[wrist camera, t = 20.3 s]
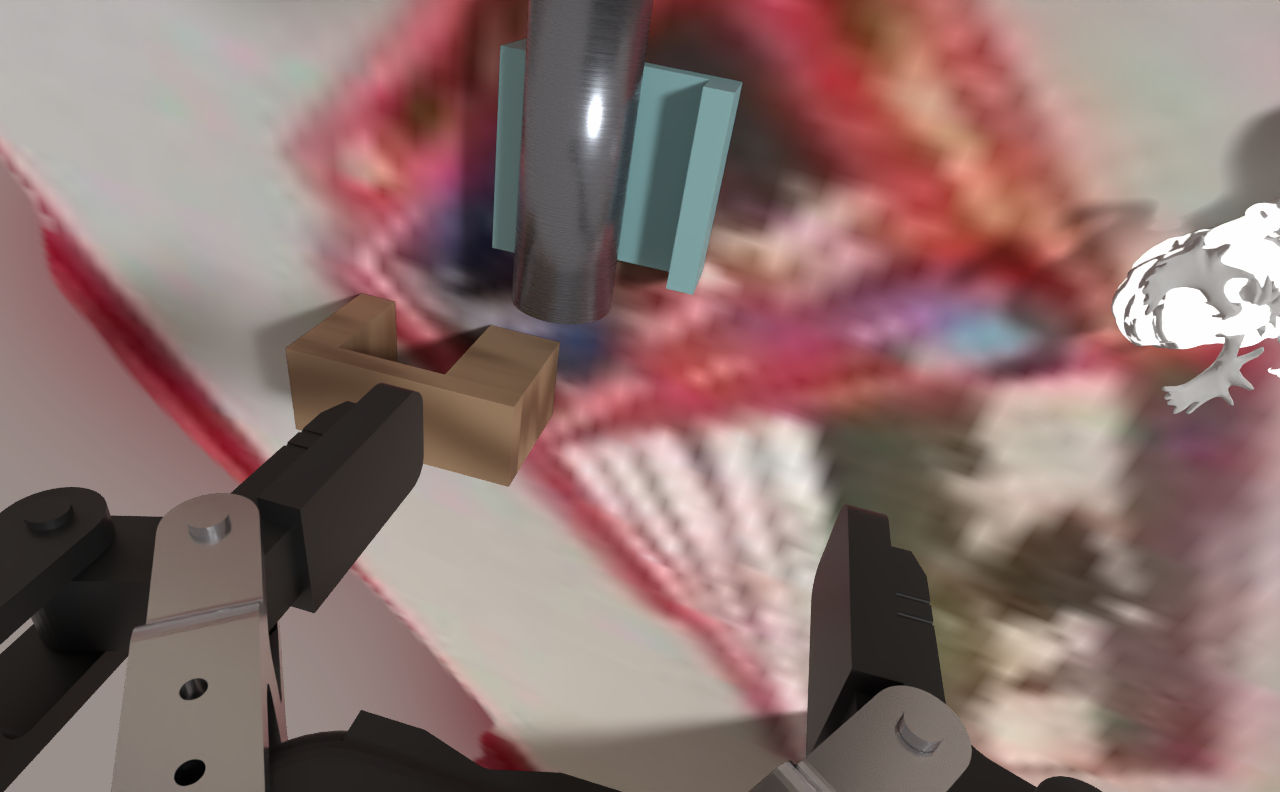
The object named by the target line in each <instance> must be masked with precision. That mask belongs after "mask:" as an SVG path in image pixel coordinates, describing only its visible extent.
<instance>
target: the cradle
mask: <svg viewBox="0 0 1280 792" xmlns="http://www.w3.org/2000/svg"><path fill="white" fill-rule="evenodd" d="M525 55H526V39H522V40H518V41H515V42H511V43H508V44H504V45H501V46H500V70H499V95H498V119H497V144H496V168H495V193H494V217H493V242H492V248H496V249H500V250H504V251H509V252H513V253H514V250H515V233H516V215H517V197H518V179H519V162H520V144H521V126H522V108H523V91H524V73H525ZM741 87H742V82H740V81H735V80H730V79H725V78H720V77H715V76H710V75H705V74H700V73H695V72H690V71H685V70H680V69H676V68H671V67H666V66H661V65H656V64H651V63H646V62H645V64H644V71H643V78H642V85H641V93H640V100H639V107H638V114H637V122H636V129H635V136H634V143H633V150H632V158H631V165H630V172H629V179H628V186H627V194H626V201H625V208H624V215H623V222H622V230H621V237H620V244H619V251H618V258H617V260H620V261H625V262H629V263H633V264H637V265H642V266H646V267H650V268H655V269H659V270H663V271H668V272H669V276H668V281H667V287H666V289H671V290H675V291H679V292H683V293H688V294H692V295H693V294H694V291H695V289H696V286H697V284H698V281H699V279H700V277H701V274H702V272H703V267H704V262H705V258H706V253H707V248H708V243H709V239H710V234H711V229H712V224H713V220H714V215H715V210H716V205H717V201H718V196H719V191H720V186H721V182H722V177H723V172H724V168H725V163H726V158H727V153H728V149H729V144H730V139H731V134H732V130H733V125H734V120H735V115H736V111H737V106H738V101H739V96H740V92H741Z"/></svg>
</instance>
